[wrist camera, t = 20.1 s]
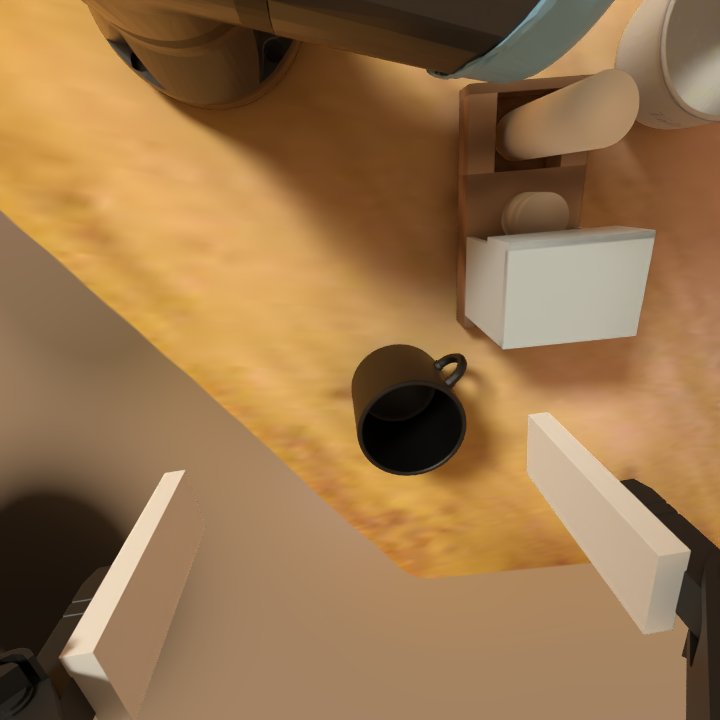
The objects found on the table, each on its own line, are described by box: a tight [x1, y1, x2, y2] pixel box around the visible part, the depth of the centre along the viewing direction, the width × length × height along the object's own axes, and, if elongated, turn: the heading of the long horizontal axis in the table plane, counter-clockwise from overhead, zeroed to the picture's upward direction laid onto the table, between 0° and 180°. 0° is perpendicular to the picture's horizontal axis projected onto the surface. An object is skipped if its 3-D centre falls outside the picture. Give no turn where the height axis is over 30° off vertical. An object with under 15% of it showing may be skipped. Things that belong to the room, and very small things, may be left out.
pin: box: [495, 69, 639, 161], centre depth 30 cm, size 4×4×12 cm
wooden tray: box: [457, 74, 595, 328], centre depth 35 cm, size 20×10×6 cm, turn 4°
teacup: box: [614, 0, 720, 130], centre depth 30 cm, size 14×11×8 cm
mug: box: [352, 344, 467, 476], centre depth 39 cm, size 9×12×9 cm
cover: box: [465, 225, 656, 349], centre depth 33 cm, size 8×10×9 cm
